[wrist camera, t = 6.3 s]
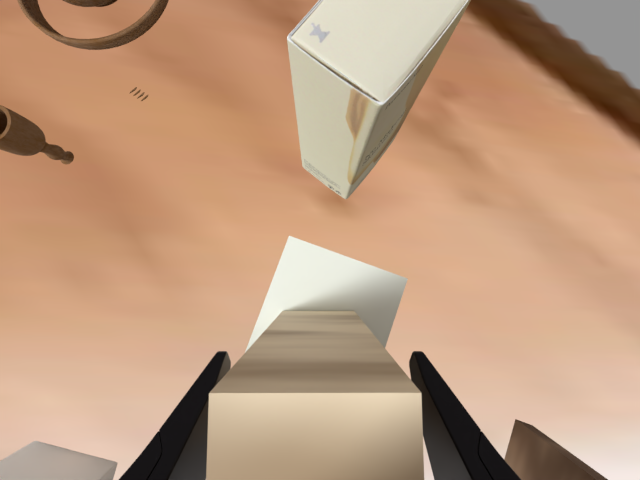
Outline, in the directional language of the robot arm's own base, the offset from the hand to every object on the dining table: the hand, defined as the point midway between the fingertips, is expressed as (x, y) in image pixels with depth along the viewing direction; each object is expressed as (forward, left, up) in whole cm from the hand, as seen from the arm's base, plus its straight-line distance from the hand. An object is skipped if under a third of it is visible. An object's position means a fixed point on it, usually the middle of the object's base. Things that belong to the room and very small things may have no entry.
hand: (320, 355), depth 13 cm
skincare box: (+13, +2, -8) cm, 15 cm away
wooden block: (-2, 0, -8) cm, 8 cm away
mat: (+1, 0, -8) cm, 8 cm away
